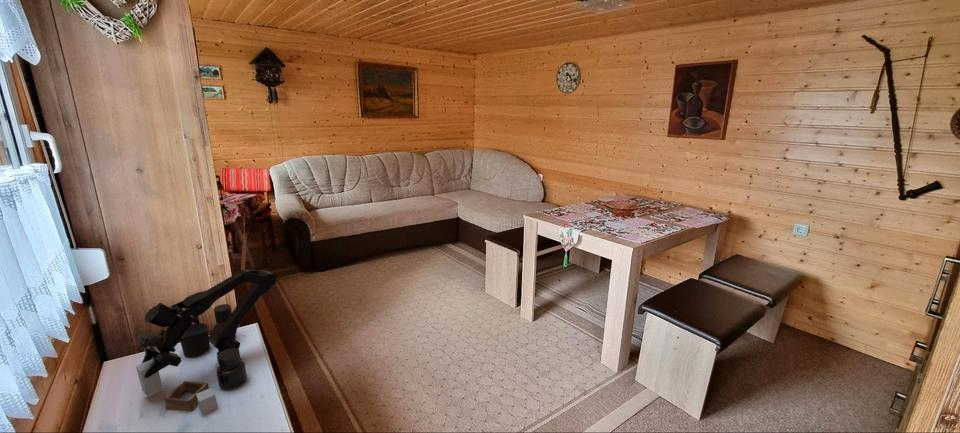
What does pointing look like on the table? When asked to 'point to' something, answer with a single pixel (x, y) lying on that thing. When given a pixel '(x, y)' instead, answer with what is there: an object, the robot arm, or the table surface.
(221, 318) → the deodorant
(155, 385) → the light grey rectangular block
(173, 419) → the table surface
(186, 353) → the pen holder
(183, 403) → the walnut collar
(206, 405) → the grey block
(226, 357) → the ink bottle
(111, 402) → the table surface
